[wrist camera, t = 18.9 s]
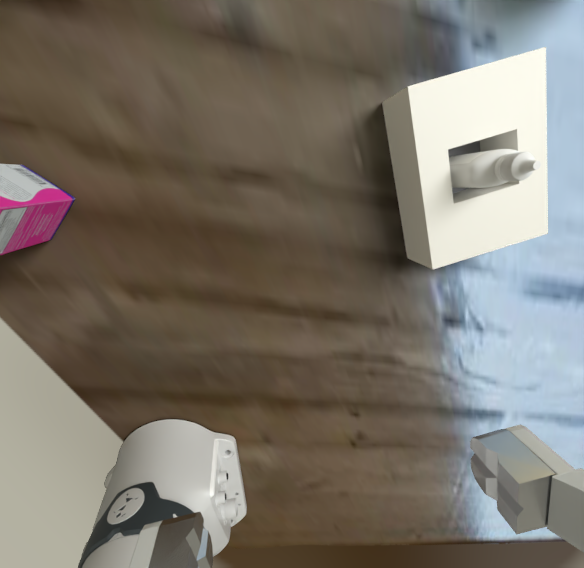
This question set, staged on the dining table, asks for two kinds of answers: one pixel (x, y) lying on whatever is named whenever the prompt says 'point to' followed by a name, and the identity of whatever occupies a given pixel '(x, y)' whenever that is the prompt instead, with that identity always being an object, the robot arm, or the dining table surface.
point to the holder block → (464, 140)
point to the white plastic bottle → (491, 168)
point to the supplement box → (28, 208)
